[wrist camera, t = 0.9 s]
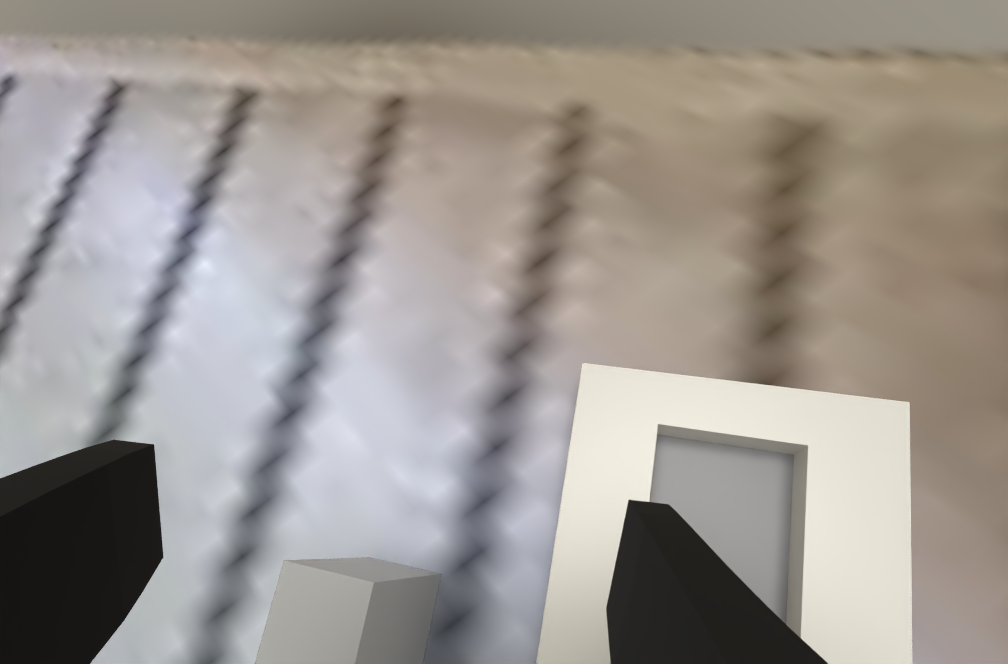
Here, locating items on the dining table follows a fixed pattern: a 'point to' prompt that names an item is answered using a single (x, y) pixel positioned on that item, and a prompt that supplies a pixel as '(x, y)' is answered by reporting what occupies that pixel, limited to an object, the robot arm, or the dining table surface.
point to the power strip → (742, 505)
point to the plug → (349, 613)
